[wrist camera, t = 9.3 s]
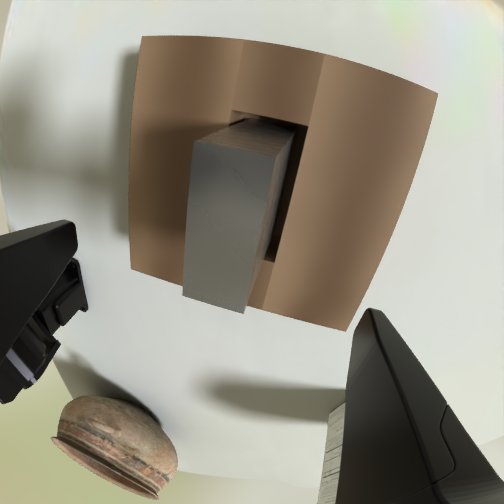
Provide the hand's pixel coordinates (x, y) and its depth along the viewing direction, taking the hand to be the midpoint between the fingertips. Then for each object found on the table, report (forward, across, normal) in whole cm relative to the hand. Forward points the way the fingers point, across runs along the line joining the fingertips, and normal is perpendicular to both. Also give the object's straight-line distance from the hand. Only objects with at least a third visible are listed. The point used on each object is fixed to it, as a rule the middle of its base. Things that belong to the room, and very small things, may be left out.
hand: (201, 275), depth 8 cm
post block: (+11, 0, 0) cm, 11 cm away
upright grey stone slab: (+10, 0, 0) cm, 10 cm away
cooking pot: (+11, +13, +40) cm, 44 cm away
